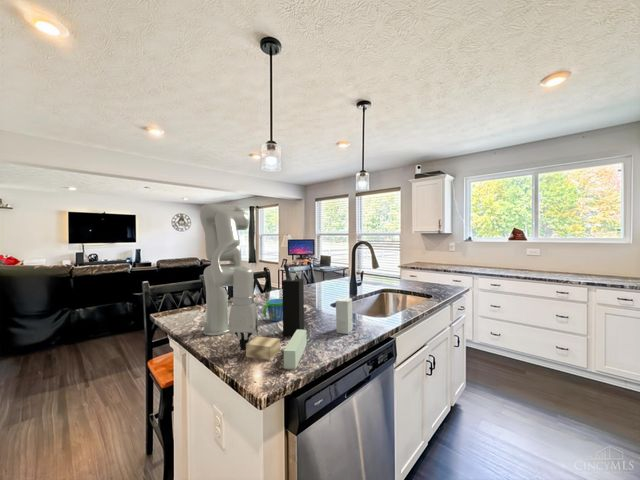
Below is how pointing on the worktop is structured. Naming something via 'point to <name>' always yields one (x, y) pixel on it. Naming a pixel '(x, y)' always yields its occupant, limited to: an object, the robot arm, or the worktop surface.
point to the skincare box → (344, 315)
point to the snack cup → (274, 309)
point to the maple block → (262, 347)
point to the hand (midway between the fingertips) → (244, 348)
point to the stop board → (295, 349)
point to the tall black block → (293, 305)
